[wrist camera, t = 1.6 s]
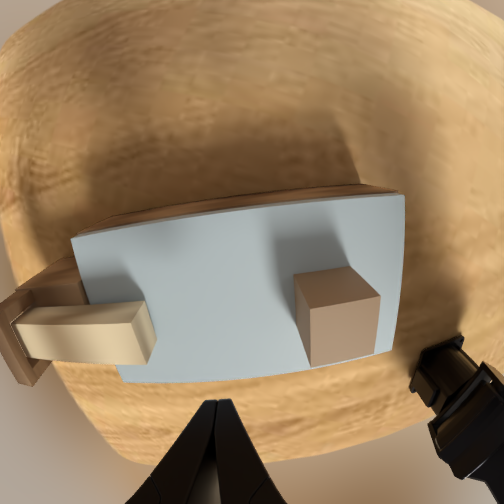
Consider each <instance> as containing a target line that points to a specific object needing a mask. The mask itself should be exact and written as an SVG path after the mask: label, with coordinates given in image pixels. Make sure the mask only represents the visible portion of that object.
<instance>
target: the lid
mask: <svg viewBox="0 0 504 504" xmlns="http://www.w3.org/2000/svg"><path fill="white" fill-rule="evenodd" d="M404 235H405V195H402V194H398V193H384V194H369V195H355V196H342V197H331V198H320V199H309V200H299V201H290V202H280V203H272V204H263V205H255V206H247V207H239V208H231V209H224V210H217V211H210V212H203V213H196V214H189V215H183V216H176V217H170V218H164V219H158V220H152V221H146V222H140V223H135V224H129V225H124V226H118V227H113V228H108V229H103V230H98V231H93V232H88V233H83V234H79V235H77V236H75V237H73V238H71V242H72V246H73V250H74V254H75V258H76V262H77V265H78V269H79V272H80V275H81V279H82V282H83V285H84V288H85V291H86V294H87V297H88V300H89V303H90V305H93V304H108V303H121V302H134V301H145V303H146V306H147V309H148V312H149V316H150V319H151V322H152V325H153V328H154V331H155V334H156V337H157V341H156V344H155V346H154V349H153V351H152V353H151V356H150V358H149V361H148V363H147V365H115V366H116V368H117V370H118V372H119V374H120V376H121V378H122V380H123V382H129V383H190V382H210V381H224V380H236V379H246V378H255V377H263V376H271V375H278V374H285V373H291V372H298V371H303V370H309V369H315V368H320V367H325V366H330V365H334V364H339V363H344V362H348V361H352V360H357V359H361V358H365V357H369V356H372V355H376V354H380V353H383V352H387V351H390V350H392V345H393V339H394V334H395V328H396V322H397V315H398V308H399V300H400V291H401V282H402V270H403V256H404Z"/></svg>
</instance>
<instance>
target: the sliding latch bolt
mask: <svg viewBox="0 0 504 504" xmlns="http://www.w3.org/2000/svg"><path fill="white" fill-rule="evenodd" d="M11 326H12V328H13V330H14V332H15V335H16V337H17V339H18V341H19V343H20V345H21V347H22V349H23V351H24V353H25V354H26V356H27V357H29V358H37V359H45V360H54V361H64V362H76V363H91V364H114V365H147V363H148V361H149V358H150V356H151V353H152V351H153V349H154V346H155V344H156V341H157V337H156V334H155V331H154V328H153V325H152V322H151V319H150V316H149V312H148V309H147V306H146V303H145V301H134V302H121V303H108V304H93V305H77V306H58V307H35V308H28V309H27V310H26V311H25V312H24V313H22V315H20V316H19V317H18V318H17V319H16V320H14V321H13V322H12V323H11Z"/></svg>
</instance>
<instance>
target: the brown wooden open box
mask: <svg viewBox="0 0 504 504" xmlns="http://www.w3.org/2000/svg"><path fill="white" fill-rule="evenodd" d="M384 193H398V191H396V190H391V189H386V188H381V187H376V186H371V185H366V184H350V185H336V186H323V187H311V188H300V189H290V190H280V191H271V192H262V193H254V194H246V195H238V196H230V197H223V198H216V199H209V200H202V201H195V202H189V203H183V204H177V205H171V206H165V207H159V208H154V209H148V210H143V211H137V212H132V213H127V214H122V215H117V216H112V217H110V218H107V219H105V220H103V221H101V222H99V223H97V224H94V225H92V226H90V227H88V228H86V229H84V230H82V231H80V232H78V233H77V235H79V234H83V233H88V232H93V231H98V230H103V229H108V228H113V227H118V226H124V225H129V224H135V223H140V222H146V221H152V220H158V219H164V218H170V217H176V216H183V215H189V214H196V213H203V212H210V211H217V210H224V209H231V208H239V207H247V206H255V205H263V204H272V203H280V202H290V201H299V200H309V199H320V198H331V197H342V196H355V195H369V194H384ZM15 291H16V292H15V293H13V294H12V295H11V296H9V297H8V298H7V299H5V300H4V301H3V302H1V303H0V352H1V354H2V356H3V357H4V360H5V361H6V363H7V365H8V367H9V369H10V370H11V372H12V374H13V375H14V377H15V379H16V380H17V382H18V383H20V384H24V385H27V386H31V387H33V386H34V385H35V383H36V382H37V380H38V379H39V378H40V376H41V375H42V374H43V372H44V371H45V370H46V368H47V367H48V366H49V365H50V363H51V362H52V361H53V360H45V359H37V358H29V357H26V356H25V354H24V352H23V350H22V349H21V346H20V344H19V342H18V340H17V339H16V336H15V334H14V332H13V330H12V328H11V325H10V322H11V321H12V320H13V319H14V318H16V317H17V316H18V315H19V314H20V313H21V312H25V311H26V310H27V309H28V308H35V307H58V306H77V305H90V303H89V300H88V297H87V294H86V291H85V288H84V285H83V282H82V279H81V275H80V272H79V269H78V265H77V262H76V258H75V257H69V258H63V259H60V260H58V261H57V262H55V263H54V264H52V265H51V266H49V267H47V268H46V269H44V270H43V271H41V272H40V273H38V274H37V275H35V276H34V277H32V278H31V279H29V280H28V281H26V282H25V283H24V284H22V285H21V286H19V287H18V288H16V290H15Z"/></svg>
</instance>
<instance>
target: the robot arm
mask: <svg viewBox="0 0 504 504" xmlns="http://www.w3.org/2000/svg"><path fill="white" fill-rule="evenodd" d="M463 342H464V337H463V336H462V335H460V336H458V337H455V338H453V339H450V340H448V341H445V342H443V343H440V344H438V345H435V346H432V347H429V348H427V349H424V350H423V351H422V352H421V355H420V359H419V362H418V365H417V369H416V372H415V375H414V379H413V382H412V385H411V388H410V391H411V393H415V392H417V393H418V394H419V396H420V397H421V399H422V400H423V402H424V403H425V405H426V406H427V407H428V408H429V407H431V408H432V410H433V411H434V413H435V414H436V415H437V416H436V417H435V418H434V419H433V420H432V421H430V422H429V423H428V428H429V431H430V435H431V438H432V440H433V443H434V447H435V449H436V453H437V455H438V456H439V458H440V459H442V460H443V461H444V462H445V463H447V464H449V466H450V468H451V470H452V472H453V474H454V476H455V477H457V478H459V479H461V480H464V479H465V478H466V477H467V478H471V479H475V480H478V481H483V482H485V484H486V485H487V486H488V488H489V490H490V491H491V493H492V495H493V497H494V498H495V500H496V502H497V504H504V376H503V375H502V374H501V373H500V372H499V371H498V370H496V369H495V368H494V367H492V366H491V365H489V364H487V363H486V362H484V361H482V363H481V364H480V367H479V366H478V365H477V364H476V363H475V362H474V361H473V360H472V359H471V358H470V357H469V356H468V355H467V354H466V353H465V352H464V351H463V350H462V349H461V348H462V345H463ZM491 380H492V382H491V383H490V381H491ZM150 476H151V477H150ZM150 476H149V477H148V478H147V479H146V480H145V482H144V483H143V484H142V485H141V487H140V488H139V489H138V490H137V491H136V492H135V494H134V495H133V496H132V497H131V498H130V499H129V500H128V501H127V502H126V503H125V504H287V503H286V502H285V500H284V499H283V497H282V496H281V494H280V493H279V491H278V490H277V488H276V486H275V485H274V483H273V481H272V479H271V478H270V476H269V474H268V472H267V470H266V469H265V467H264V465H263V463H262V461H261V459H260V457H259V455H258V453H257V451H256V449H255V447H254V445H253V443H252V441H251V439H250V437H249V435H248V433H247V431H246V429H245V427H244V425H243V423H242V421H241V419H240V417H239V415H238V413H237V410H236V408H235V406H234V404H233V402H232V400H231V399H219V400H205V401H204V402H203V403H202V405H201V406H200V408H199V409H198V410H197V412H196V413H195V415H194V416H193V417H192V419H191V420H190V422H189V423H188V424H187V426H186V427H185V429H184V430H183V431H182V433H181V434H180V435H179V437H178V438H177V440H176V441H175V442H174V444H173V445H172V446H171V448H170V449H169V450H168V452H167V453H166V454H165V456H164V457H163V458H162V460H161V461H160V462H159V464H158V465H157V466H156V468H155V469H154V470H153V472H152V473H151V474H150Z"/></svg>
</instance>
